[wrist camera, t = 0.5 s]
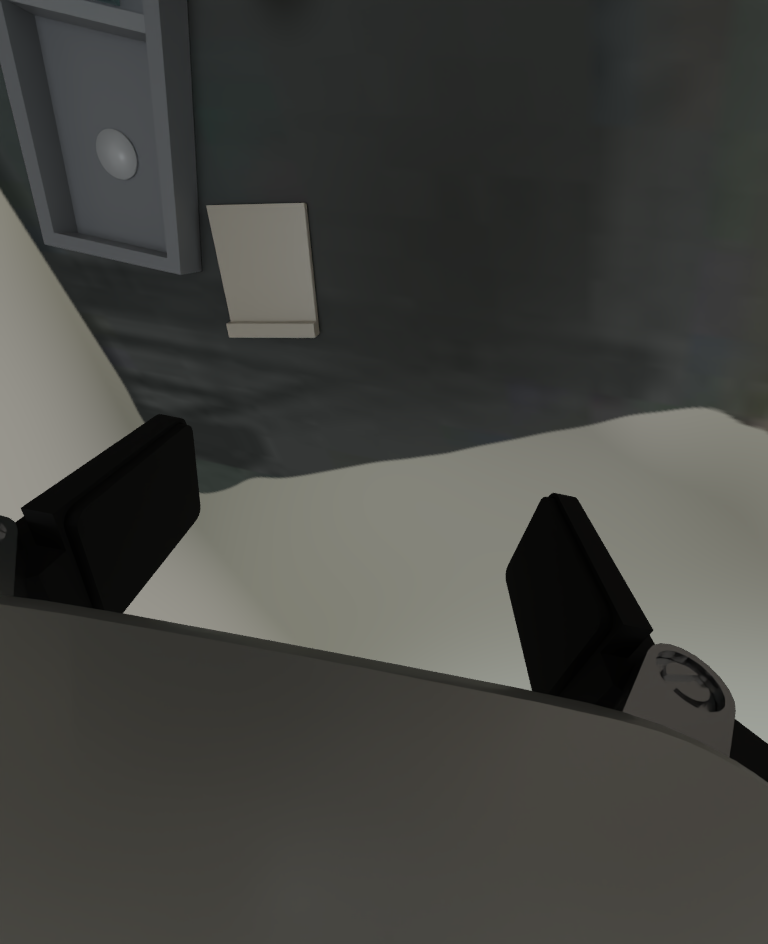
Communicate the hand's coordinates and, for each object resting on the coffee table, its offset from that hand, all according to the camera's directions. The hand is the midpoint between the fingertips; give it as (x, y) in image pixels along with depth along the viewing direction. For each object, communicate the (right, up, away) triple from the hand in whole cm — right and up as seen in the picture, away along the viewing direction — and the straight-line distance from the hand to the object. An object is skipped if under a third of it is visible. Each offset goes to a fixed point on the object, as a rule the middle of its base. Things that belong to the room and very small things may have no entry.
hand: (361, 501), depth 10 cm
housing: (-19, +30, +17) cm, 39 cm away
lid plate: (-10, +18, +23) cm, 31 cm away
